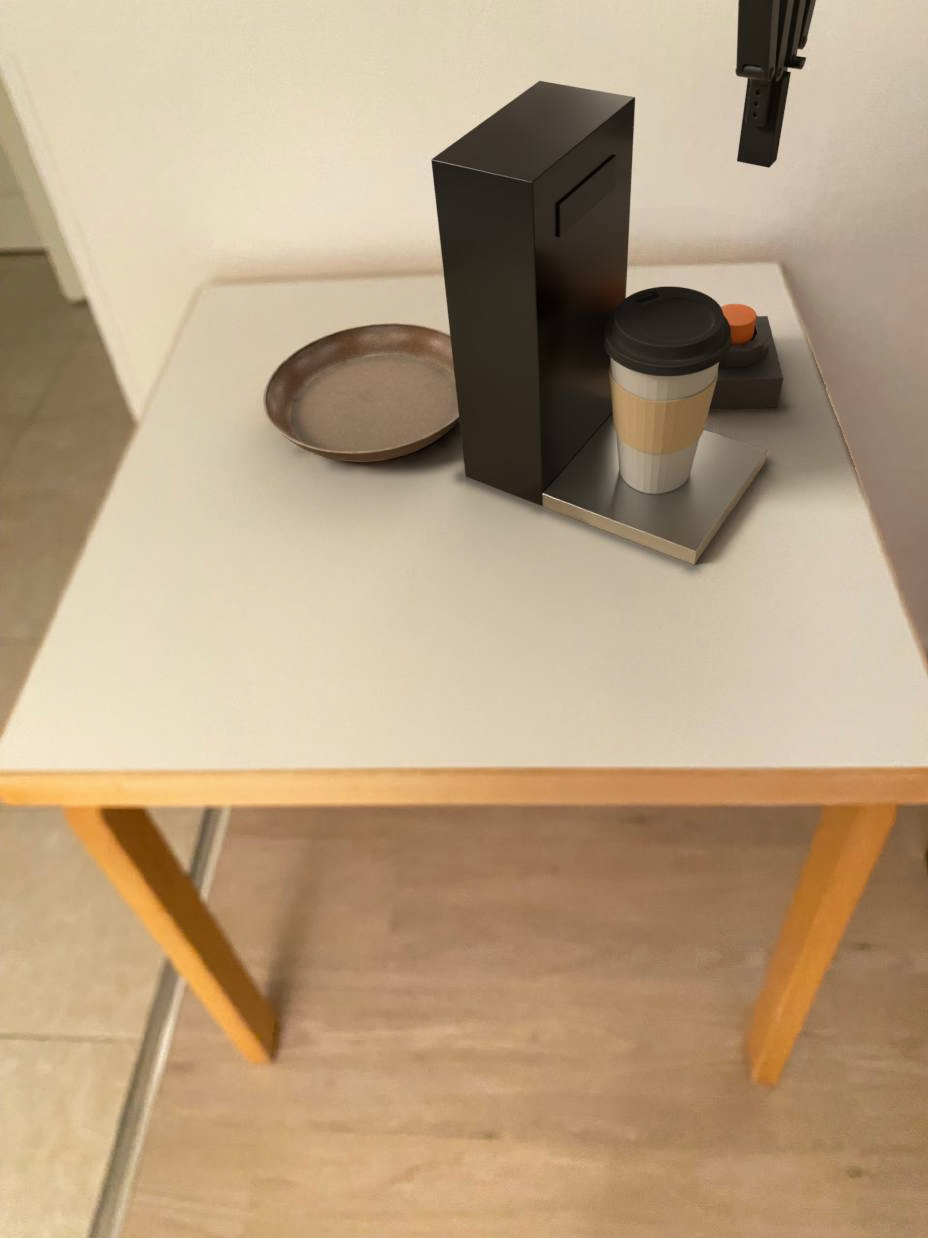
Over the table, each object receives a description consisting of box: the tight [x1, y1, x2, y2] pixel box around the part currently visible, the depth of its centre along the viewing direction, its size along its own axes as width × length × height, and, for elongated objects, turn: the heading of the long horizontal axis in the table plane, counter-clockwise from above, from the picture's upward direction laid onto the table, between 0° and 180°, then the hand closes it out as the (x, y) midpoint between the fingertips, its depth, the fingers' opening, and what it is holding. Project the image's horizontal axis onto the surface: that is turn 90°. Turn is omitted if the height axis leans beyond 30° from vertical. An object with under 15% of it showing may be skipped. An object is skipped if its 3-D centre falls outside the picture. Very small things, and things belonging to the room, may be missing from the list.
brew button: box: [720, 303, 757, 344], centre depth 88 cm, size 4×4×2 cm
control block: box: [709, 314, 784, 410], centre depth 91 cm, size 10×8×5 cm
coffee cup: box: [603, 285, 732, 494], centre depth 77 cm, size 9×9×15 cm
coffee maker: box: [431, 80, 768, 565], centre depth 75 cm, size 22×14×28 cm, turn 56°
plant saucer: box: [262, 322, 460, 463], centre depth 92 cm, size 21×21×3 cm
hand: (756, 160), depth 77 cm, fingers closed
